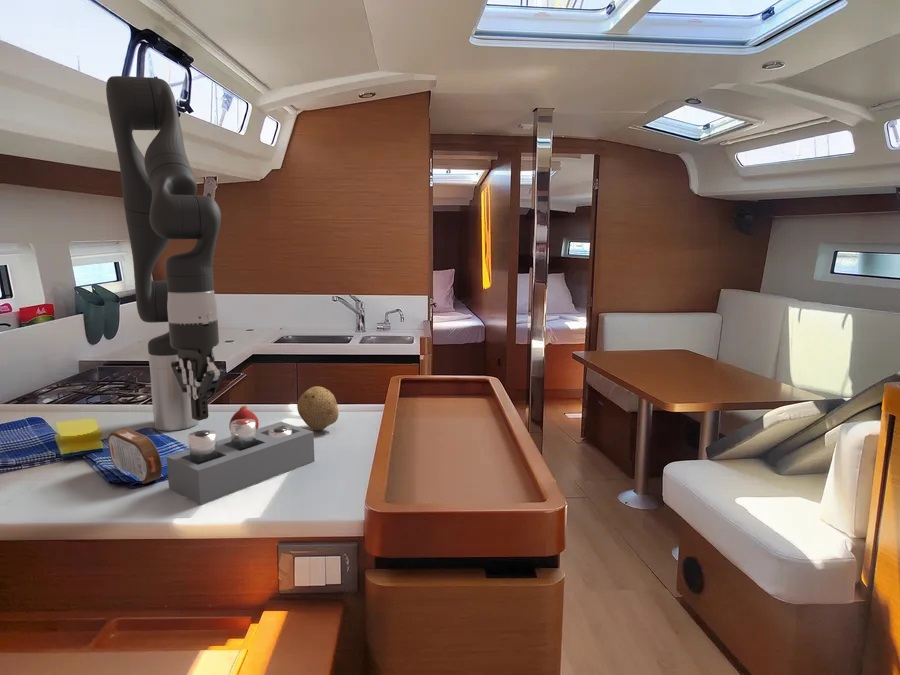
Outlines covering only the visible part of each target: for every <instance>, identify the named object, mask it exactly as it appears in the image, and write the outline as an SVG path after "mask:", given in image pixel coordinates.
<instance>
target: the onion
mask: <svg viewBox="0 0 900 675" xmlns="http://www.w3.org/2000/svg"><path fill="white" fill-rule="evenodd" d="M247 408H248V406H247V405H245V404H244V405H242V406H240V408H239V410H238V411H235V413H234V414H233V415H232V417H231V418H230V421H229V431H230V432H231V429H230V423H231V422H232V421H235V420H239V419H253V420H255V421H256V429H259V427H260V426H259V425H260V423H259V419H258V417H257V416H256V415H255V413H253V412H252V411H251V410H249V409H247Z"/></svg>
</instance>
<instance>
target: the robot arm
mask: <svg viewBox="0 0 900 675" xmlns="http://www.w3.org/2000/svg"><path fill="white" fill-rule="evenodd" d="M105 86H106V87H105V92H106V93H105V94H106V101H107V107H108V113H109V117H110V122H111V123H110V124H111V127H112V131H113V132H112V133H113V137H114V143H115V147H116V152H117V158H118V162H119V163H118V164H119V170H120V179H121V187H122V188H121V190H122V196H123V197H122V198H123V207H124V212H125V213H124V214H125V220H126V224H127V225H126V227H127V230H128V232H127V233H128V237H129V242H130V248H131V254H132V262H133V276H134V287H135V288H134V289H135V290H134V292H135V300H136V301H135V302H136V308H137V314H138V316H139V318H140V319H141V321H143V322H144V323H152V324H153V323H156V324H157V323H168V332H166V333H164V334H161V335H159V336H156V337H153V338H151V339H150V340H149V341H148V343H147V350H148V351H147V352H148V364H149V373H150V383H151V384H150V390H151V402H152V412H153V424H154V428H155V429H157V430H160V431H169V432H170V431H179V430H184V429H189V428H193V427H194V426H196V425H198V424H199V422H200V421H203V420H206V419H208V418H209V405H208V398H209V397H210V396H215V395H216V393H217V390H218V388H219V387H220V385H221V381H222V380H223V378H224V375H225V370H224V369H223V368H217V366H216V364H215V360H216V359H215V356H214V355H215V354H214V351H213V349H214V347H216V346H218V345H219V343H220V339H219V338H220V336H219V320H218V318H219V317H218V305H217V299H216V295H215V288H214V286H215V285H214V270H213V269H214V268H213V266H214V258H215V257H214V256H215V251H216V245H217V241H218V236H219V232H220V228H221V222H222V212H221V209H220V207H219V205H218V203H217V202H216V200H215V199H213V198H212V197H210V196H208V195H203V194H202V195H201V194H198V195H197V191H198V183H197V180H196V178H195V175H194V173H193V170H192V167H191V165H190V162H189V160H188V156H187V154H186V149H185V144H184V137H183V136H184V135H183V131H182V126H181V121H180V116H179V112H178V108H177V103H176V99H175V95H174V92H173V90H172V88H171V87H170V85H169V83H168V82H167V81H166V80H165V79H162V78H159V77H158V78H157V77H147V76H127V75H126V76H125V75H123V76H122V75H114V76H110V77H109V78H108V79H107V81H106V84H105ZM133 131H159V132H157V134H156V136H154V138H153V139H152V141H150V142H149V144H148V146H147V148H146V151H145V153H144V154H143V153H142V151H141V150H140V149H139V147H138V146H137V143H136V142H135V139H134V136H133ZM171 240H196V243H195V245H194V247H193V248H192V249H191V250H190V251H187V252H184V253H179V254H175V255H174V254H173V255H171V256H169V257H168V258H167V259H166V261H165V273H166V274H165V275H166V280H152V275H153V271H154V267H156V266H155V265H156V264H157V262H158V260H159V258H160V256H161V255H162V253H163V252H164V251H165V250H166V247H167V246H168V244H169V243H170V242H171Z"/></svg>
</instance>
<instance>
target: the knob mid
mask: <svg viewBox="0 0 900 675" xmlns="http://www.w3.org/2000/svg"><path fill="white" fill-rule="evenodd" d="M229 424H230V427H229V430H230V429H231V431H230V437H231V445H232V446H233V447H236V448H245V447H250V446H253V445H255V444H256V443H257V437H256V421H255V420H253V419H239V420H235V421H232V422H231V423H230V422H229Z"/></svg>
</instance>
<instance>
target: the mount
mask: <svg viewBox="0 0 900 675" xmlns="http://www.w3.org/2000/svg"><path fill="white" fill-rule="evenodd" d="M276 427H289V428H291V429H292V434H290V435H287V436H284V437H281V438H278V439H277V438H274V437H271V436H269V434H268V431H269V430H270V429H272V428H276ZM314 436H315V435H314V430H313V431H312V430H309V429H306V428H304V427H303V428H302V427H299V426H296V425H293V424H290V423H287V422H283V421H278V422H276V423H273V424H269V425H266V426H262V427H260V428H259V427H258V429H256V437H257V443H256V444H255V445H253V446H250V447H245V448H236V447H233V446H232V445H231V436H230V437H226V438H223V439H219V440H216V441H217V456H216V457H215V458H213V459H210V460H206V461H193V460H191V459H190V451H189V449H187V450H183V451H181V452H178V453H174V454H171V455H166V458H165V459H166V465H167V466H166V467H167V468H166V470H167V480H168V481H167V482H168V489H169V490H170V491H172V492H174V493H176V494H177V495H180V496H182V497H183V498H186V499H188V500H190V501H192V502H193V503H195V504H198V505H200V506H202V505H204V504H208V503H209V502H213V501H214V500H218V499H220V498H223V497H226V496H228V495H230V494H233V493H235V492H238V491H241V490H243V489H246V488H248V487H251V486H253V485H257V484H259V483H261V482H264V481H266V480H269V479H272V478H275V477H276V476H280V475H281V474H285V473H287V472H290V471H292V470H295V469H297V468H301V467H304V466H305V465H307V464H311V463H313V462H315V443H314V442H315V441H314V438H315V437H314Z"/></svg>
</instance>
